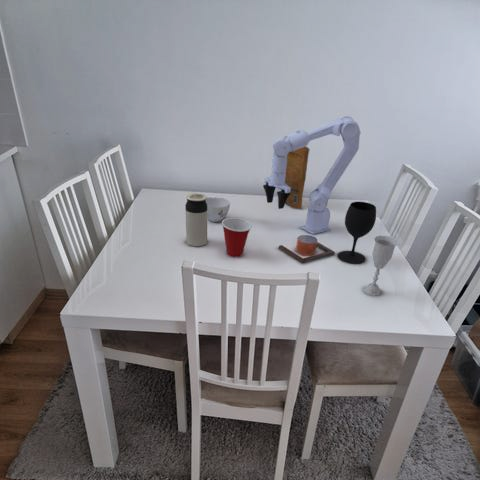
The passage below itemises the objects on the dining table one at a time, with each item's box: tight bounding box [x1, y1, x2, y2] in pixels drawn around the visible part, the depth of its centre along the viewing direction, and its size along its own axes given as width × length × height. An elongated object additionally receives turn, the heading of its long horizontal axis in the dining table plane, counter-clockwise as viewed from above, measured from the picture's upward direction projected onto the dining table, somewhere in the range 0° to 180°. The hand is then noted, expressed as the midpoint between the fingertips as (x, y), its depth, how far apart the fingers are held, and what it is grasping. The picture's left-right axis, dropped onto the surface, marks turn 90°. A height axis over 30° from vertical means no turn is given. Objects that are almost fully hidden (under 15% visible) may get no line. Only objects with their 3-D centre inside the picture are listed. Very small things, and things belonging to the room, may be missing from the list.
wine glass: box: [337, 201, 377, 265], centre depth 150 cm, size 10×10×20 cm
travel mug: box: [185, 192, 208, 247], centre depth 155 cm, size 8×8×18 cm
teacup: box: [206, 196, 231, 223], centre depth 178 cm, size 15×12×8 cm
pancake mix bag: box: [285, 146, 311, 210], centre depth 193 cm, size 7×19×28 cm, turn 30°
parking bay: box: [278, 241, 336, 265], centre depth 158 cm, size 16×14×1 cm
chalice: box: [363, 235, 399, 296], centre depth 131 cm, size 7×7×18 cm
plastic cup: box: [221, 217, 253, 258], centre depth 151 cm, size 11×11×12 cm
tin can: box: [295, 234, 318, 257], centre depth 157 cm, size 8×8×5 cm
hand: (275, 205), depth 171 cm, fingers open, 7 cm apart
